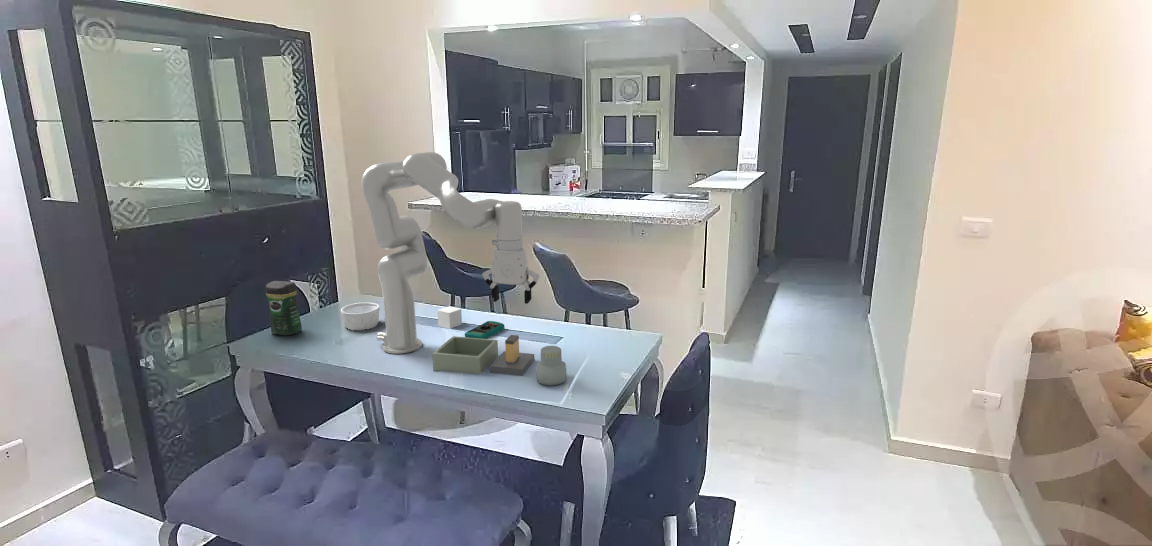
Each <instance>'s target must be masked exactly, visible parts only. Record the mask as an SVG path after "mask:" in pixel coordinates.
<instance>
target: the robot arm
mask: <svg viewBox="0 0 1152 546" xmlns="http://www.w3.org/2000/svg"><path fill="white" fill-rule="evenodd" d="M447 167H448V166H447V162H446V160H445V158H444V157H443V156H442V155H440V154H439V153H438V152H436V151H435V152H433V151H429V152H428V151H427V152H416V153H412V154H410V155H408V156H407V157H406V158H405V159H404V160H397V161H385V162H379V163H376V164H373V165H370V167H368V168H367V169H366V170H365V172H363V175H362V177H361V191H362V193H363V197H364V200H365V203H366V206H367V208H368V213H369V218H370V223H371V227H372V230H373V231H372V232H373V234H374V235H373V236H374V238H375V242H376V244H377V246H378V247H379V248H380V249H382V250H385V251H386V250H387V251H388V250H393V249H397V248H399V251H395V252H392V253H390V254H387V255H385V256H383V257H382V258H381V259H380V260H379V261H378V264H377V269H376V270H377V276H378V278H379V283H380V286H381V291H382V292H381V293H382V300H383V301H382V302H383V308H384V309H383V311H384V321H385V332H377V334H376V341H382V342H383V344H382V350H383V351H384V352H385V353H388V354H398V355H399V354H407V353H412V352H415V351H418V350H419V349H420V348H421V347H422V346H423V341H422V340H421V339H420V338H418V336H417V335H418V334H417V322H416V321H417V320H416V308H415V296H414V295H415V294H414V291H413V289H412V286H411V285H410V283H409V280H410V279H414V278H417V277H418V276H420V275H422V274H424V272H425V271H426V270H427V267H428V257H427V256H428V255H427V252H426V248H425V242H424V237H423V234H422V229H421V227H420V225H419V223H418V222H417V220H416V219H415V218H413V217H411V216H409V215H399V211H398V205H397V203H396V201H395V199H394V197H393V196H392V195H391V194H390V191H392V190H393V191H394V190H401V189H406V188H407V189H408V188H411V187H416V186H419V187H420V188H422V189H423V190H425V191H426V192H428V193H429V194H431V195H433V196H434V197H435V198H437V199H438V200H439V202H440V205H441V206H442V208H443V210H444V211H445V213H446V214H447V215H448V216H449V217H450V218H452V219H453V220H455V221H456V222H457V223H459V224H460V225H462V226H464V227H466V228H468V229H472V230H478V229H482V228H486V227H489V226H493V225H495V235H496V236H495V239H492V240H491V245H493V246H495V248H494V249H493V252H492V260H491V261H492V263H491V268H490V269H488V270H486V271H483V272H482V274H481V276H482V277H483V279H484V281H485V283H486V284H487V285H488V286H489V288H490V289H491V298H492V302H493V303H496V302H498V301H499V300H500V286H499V285H510V286H511V285H513V286H520V285H521V286H523V288H524V289H525V290H524V291H523V292H524V293H523V294H524V304H526V305H527V304H529V303H530V301H531V300H532V289H533V288H534V287H535V285H537V283H538V282H539V279H540V277H541V275H540V274H539V273H537V272H535V271H533V270H532V269H530V268H529V262H528V256H527V252H526V248H524V243H523V242H524V240H523V214H522V213H523V212H522V210H523V209H522V204H521V203H520V202H518V201H516V200H515V201H514V200H513V201H512V200H511V201H510V200H507V201H503V200H499V199H495V198H494V199H493V198H487V199H483V200H481V199H480V200H477V201H472V200H470V199H468V198H466V197H465V196H464V195H463V194H461V193H460V192H459V191H458V190H457V189H458V185H459V179H458V177H457V176H456V175H455V174H454V173H452V172H451V171H449V170H448V169H447ZM490 275H491V277H490ZM529 277H531V278H532V281H531V282H530V281H529Z"/></svg>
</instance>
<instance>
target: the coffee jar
mask: <svg viewBox="0 0 1152 546" xmlns="http://www.w3.org/2000/svg"><path fill="white" fill-rule="evenodd" d="M297 289H298V288H297V285H296V283H295V282H294V281H285V280H284V281H283V280H273V281H270V282H268V283H266V284H265V295H266V298H267V301H268V305H269V308H268V309H269V317H270V318H269V319H270V332H271V334H273V335H276V334H279V336H291V335H296V334H298V333H299V332H300V331H302V329H303V328H302V321H301V316H300V312H299V308H298V307H299V306H298V303H297V302H298V301H297V294H298V290H297ZM295 333H296V334H295Z"/></svg>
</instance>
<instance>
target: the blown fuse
mask: <svg viewBox="0 0 1152 546" xmlns="http://www.w3.org/2000/svg"><path fill="white" fill-rule="evenodd" d="M504 344H505V346H504V348H505V351H506V361H507V363H515V362H516V361H517V360H518V356H519V353H520V338H519V335H516V334H510V335H509V336H508V337H507V338H506V339H505V340H504Z"/></svg>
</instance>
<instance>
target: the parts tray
mask: <svg viewBox="0 0 1152 546" xmlns="http://www.w3.org/2000/svg"><path fill="white" fill-rule="evenodd" d="M498 341H499V340H498V339H491V338H490V339H489V338H488V339H480V338H468V337H465V336H455V335H453V336H452V337H450V338H449V339H448V340H447V341H446V342H444V343H443V344H442V345H440V346H439V347H438V348H437V349H436V350H434V351H433V352H432V353H431V356H432V357H431V358H432V371H435V372H440V371H445V372H446V371H447V372H456V373H457V372H458V373H466V374H468V373H469V374H477V375H478V374H479V375H481V374H482V373H483V371H484V370H485V369H487V367H489V366H490V365H491V364H492V363H493V362H494V361H495V360H496V359H497V358H498V357H499V346H498V345H499V343H498Z"/></svg>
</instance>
